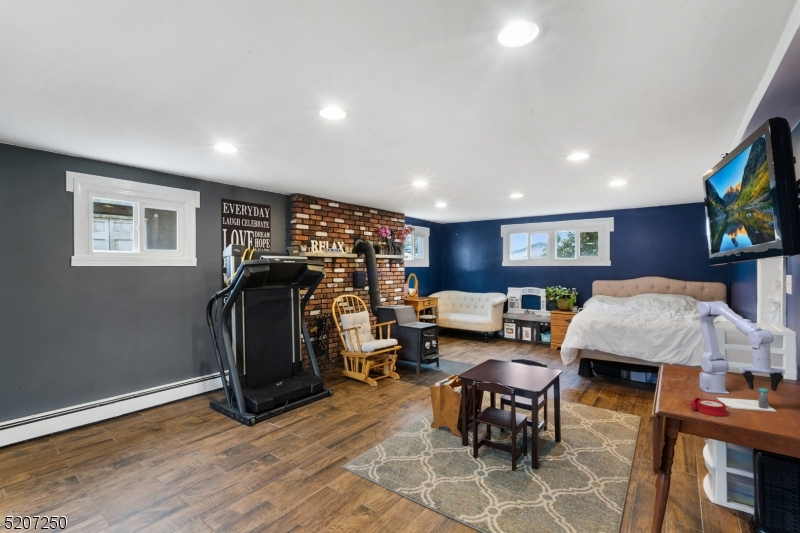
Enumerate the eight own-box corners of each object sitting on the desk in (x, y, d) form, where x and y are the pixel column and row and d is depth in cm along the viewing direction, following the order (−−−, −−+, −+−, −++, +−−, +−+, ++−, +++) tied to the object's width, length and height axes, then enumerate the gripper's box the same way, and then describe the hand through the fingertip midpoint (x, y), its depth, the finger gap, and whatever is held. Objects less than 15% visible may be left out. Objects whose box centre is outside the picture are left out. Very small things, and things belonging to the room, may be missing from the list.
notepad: (729, 408, 162) (729, 406, 162) (716, 398, 174) (716, 397, 174) (776, 411, 157) (776, 410, 157) (760, 401, 168) (760, 400, 168)
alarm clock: (728, 411, 151) (684, 394, 162) (724, 425, 152) (680, 407, 163) (733, 404, 158) (690, 388, 169) (729, 417, 159) (686, 401, 170)
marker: (760, 408, 160) (760, 389, 160) (756, 405, 163) (756, 387, 162) (770, 409, 159) (769, 390, 158) (765, 406, 162) (765, 387, 161)
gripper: (744, 359, 160) (746, 391, 160) (789, 361, 154) (790, 394, 155) (736, 355, 166) (737, 386, 166) (778, 357, 161) (779, 388, 161)
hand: (762, 389), depth 161 cm, fingers open, 7 cm apart
